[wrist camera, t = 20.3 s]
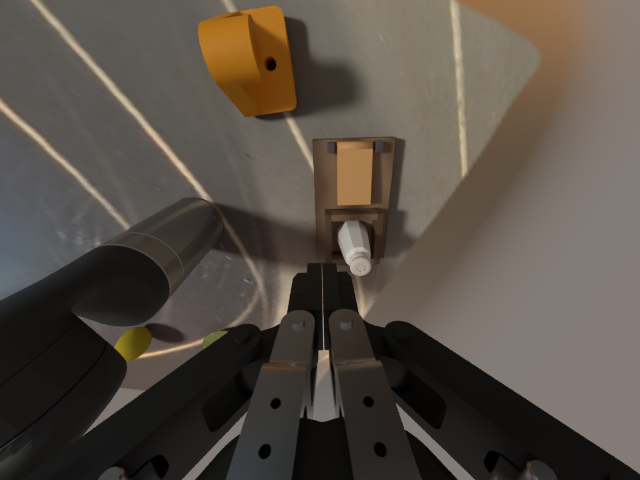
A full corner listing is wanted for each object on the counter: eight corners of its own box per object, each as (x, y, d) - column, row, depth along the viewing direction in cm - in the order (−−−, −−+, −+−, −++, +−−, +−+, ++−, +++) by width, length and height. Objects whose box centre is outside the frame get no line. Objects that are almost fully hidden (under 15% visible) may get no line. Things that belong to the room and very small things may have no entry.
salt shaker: (360, 213, 40) (373, 243, 30) (371, 240, 42) (387, 276, 32) (330, 225, 41) (333, 259, 31) (342, 251, 43) (349, 290, 33)
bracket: (298, 110, 35) (289, 105, 24) (249, 116, 35) (219, 115, 25) (284, 13, 30) (265, -46, 20) (228, 22, 31) (179, -31, 20)
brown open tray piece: (317, 253, 46) (317, 268, 41) (312, 139, 37) (311, 141, 32) (381, 251, 45) (388, 266, 41) (392, 136, 37) (402, 138, 32)
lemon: (155, 340, 56) (131, 372, 49) (131, 331, 54) (102, 363, 47) (162, 325, 54) (137, 356, 46) (136, 315, 52) (107, 346, 45)
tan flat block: (337, 203, 38) (337, 205, 37) (336, 142, 35) (337, 141, 34) (368, 202, 38) (370, 204, 37) (371, 141, 35) (373, 140, 34)
